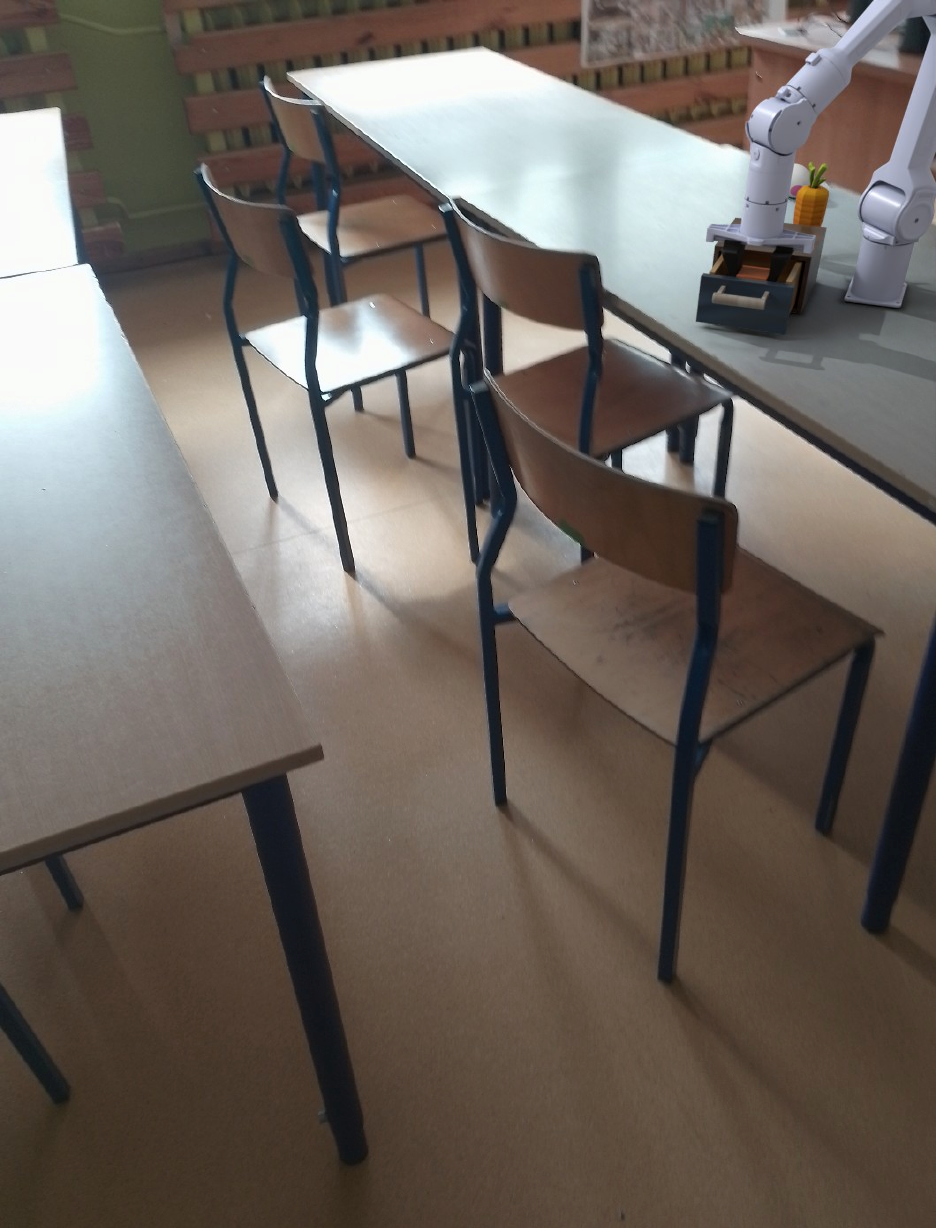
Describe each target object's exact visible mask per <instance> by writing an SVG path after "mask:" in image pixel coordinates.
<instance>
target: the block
mask: <svg viewBox="0 0 936 1228" xmlns="http://www.w3.org/2000/svg"><path fill="white" fill-rule="evenodd" d="M769 270H770V269H769V268H761V267H753V266H745V265H743V266H742V268H741V270H740V271H739V273H738V274H737V277H739V278H746V279H754V280H762V281H768V278H769Z"/></svg>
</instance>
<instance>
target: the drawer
mask: <svg viewBox="0 0 936 1228" xmlns="http://www.w3.org/2000/svg"><path fill="white" fill-rule="evenodd" d="M770 261H771V257H766V256H758V255H749V254H744V255H743V260H742V266H743V265H745V266H753V267H761V268H769V269H770ZM803 263H804V261H800V260H791V259H789V261H788V262H787V264H786V265H785V267H784V268H783V270H782V271H781V273H780V275H779V277H778V279H777V282H770V281H762V280H754V279H746V278H739V277H731V276H729V275H728V271H727V267H726V264H725V261H724V259H723V256H722V255H721V256H720V257H719V259H718V260H717V262H716V263H715V265H714V266H713V267H712V266H711V269H710V271H709V273H705V272H702V274H701V276H700V283H699V292H698V299H697V307H696V314H695V315H696V316H695V322H696V323H702V324H708V325H716V326H722V327H728V328H729V327H730V328H737V329H742V330H743V329H744V330H751V331H757V332H764V333H770V334H778V335H786V333H787V329H788V324H789V318H790V315H791V313H790V312H791V310H792V308H793V306H794V304H795V302H796V300H797V295H798V290H799V285H800V279H801V274H802V269H803ZM742 266H741V268H742Z"/></svg>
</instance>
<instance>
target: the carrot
mask: <svg viewBox="0 0 936 1228" xmlns="http://www.w3.org/2000/svg"><path fill="white" fill-rule="evenodd" d="M828 169H830V168H829V166H828V164H826V163H822V164H821V166H820V167H819V168H818V170H817V172H816V167H815V166H814V162H813V161H810V162H809V163H808V171H809V179H810V185H805V186H803V187H802V188H801V189H800V190H799V191H798V193H797V196H796V198H795V203H794V208H793V209H794V210H793V218H792V224H800V225H809V226H818V227H822V226H823V222H824V219H825V216H826V211H827V207H828V202H829V199H830V191H829V189H828V188H826V187H825V186H823V185H822V184H823V183H824V182H826V181H827V177H822V176H823V174H824V173H825V172H826V171H828ZM815 172H816V173H815Z"/></svg>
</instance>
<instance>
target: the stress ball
mask: <svg viewBox="0 0 936 1228" xmlns="http://www.w3.org/2000/svg"><path fill="white" fill-rule="evenodd" d="M809 173H810V171H809V169H808V168H806V167H805V166H804V165H802V164H799V163H795V162H794V168H793V174H792V179H791V185H790V191H789V197H788V198H794V199H796V196H797V193H798V191H799V190H800V189H801V188H802V187H803V186H805V185H810V179H809Z"/></svg>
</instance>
